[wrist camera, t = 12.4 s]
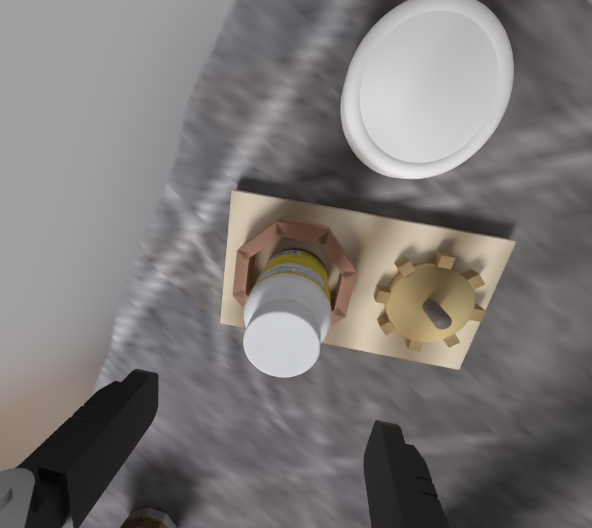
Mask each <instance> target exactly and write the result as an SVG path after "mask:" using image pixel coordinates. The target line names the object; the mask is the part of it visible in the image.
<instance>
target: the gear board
mask: <svg viewBox="0 0 592 528" xmlns="http://www.w3.org/2000/svg"><path fill="white" fill-rule="evenodd" d="M515 243H516V241H513V240H510V239H507V238H503V237H497V236H492V235H486V234H481V233H475V232H469V231H464V230H458V229H453V228H447V227H442V226H436V225H431V224H425V223H419V222H414V221H408V220H403V219H397V218H392V217H386V216H381V215H375V214H369V213H364V212H358V211H353V210H347V209H342V208H336V207H331V206H325V205H319V204H314V203H308V202H303V201H297V200H292V199H286V198H281V197H275V196H270V195H264V194H258V193H253V192H247V191H242V190H232V194H231V206H230V217H229V229H228V240H227V252H226V263H225V275H224V286H223V298H222V310H221V321H220V323H223V324H228V325H233V326H238V327H243V328H246V326H245V322H244V307H245V303H246V301H247V298H248V296H249V294H250V292H251V291H252V289H253V287H254V285H255V284H256V282H257V280H258V278H259V276H260V275H261V273H262V271H263V269H264V267H265V266H266V264H267V262H268V261H269V259H270V258H271V257H272V256H273V255H274V254H276V253H277V252H279V251H281V250H283V249H286V248H293V247H297V248H303V249H306V250H309V251H311V252H312V253H314V254H315V255H317V256H318V257H319V258H320V259H321V261H322V262H323V264H324V265H325V267H326V270H327V275H328V282H329V291H330V303H331V312H332V314H331V325H330V329H329V332H328V334H327V336H326V337H325V339H324V340H323V341H322V343H325V344H330V345H335V346H340V347H345V348H351V349H356V350H361V351H366V352H371V353H376V354H381V355H386V356H392V357H397V358H402V359H407V360H412V361H417V362H422V363H427V364H432V365H438V366H443V367H448V368H453V369H458V370H459V369H460V367H461V364H462V362H463V360H464V358H465V355H466V353H467V351H468V349H469V346H470V344H471V342H472V340H473V337H474V335H475V333H476V331H477V328H478V326H479V324H480V322H481V321H482V319H483V317H484V314H485V312H486V311H485V310H486V308H487V306H488V304H489V301H490V299H491V297H492V295H493V292H494V290H495V288H496V286H497V283H498V281H499V279H500V277H501V274H502V272H503V270H504V268H505V265H506V263H507V261H508V259H509V256H510V254H511V252H512V250H513V247H514V245H515Z"/></svg>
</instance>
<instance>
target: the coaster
mask: <svg viewBox="0 0 592 528" xmlns="http://www.w3.org/2000/svg"><path fill="white" fill-rule="evenodd" d="M513 78H514V62H513V53H512V49H511V45H510V41H509V39H508V36H507V34H506V31H505V29H504V28H503V26H502V24H501V23H500V21H499V20H498V19H497V17H496V16H495V15H494V13H493V12H492V11H490V10H489V9H488V8H487V7H486V6H485V5H484V4H482V3H480V2H479V1H477V0H407V1H405V2H403V3H402V4H400V5H398V6H397V7H395V8H393V9H392V10H391V11H390V12H388V13H387V14H386V15H385V16H383V17H382V18H381V19H380V20H379V21H378V22H377V23H376V24H375V25H374V26H373V27H372V28H371V29H370V31H369V32H368V33H367V34H366V36H365V37H364V38H363V40H362V41H361V43H360V45H359V46H358V48H357V49H356V52H355V54H354V56H353V58H352V60H351V63H350V65H349V68H348V71H347V74H346V79H345V83H344V86H343V91H342V96H341V106H340V108H341V121H342V127H343V131H344V134H345V137H346V139H347V142H348V144H349V146H350V147H351V149H352V151H353V152H354V153H355V155H356V156H357V157H358V158H359V159H360V160H361V161H362V162H363V163H364V164H365V165H366V166H368V167H369V168H370V169H372V170H374V171H375V172H377V173H380V174H382V175H385V176H389V177H393V178H404V179H422V178H427V177H432V176H436V175H439V174H442V173H444V172H446V171H449V170H451V169H453V168H455V167H456V166H458V165H460V164H461V163H463V162H464V161H465V160H467V159H468V158H469V157H471V156H472V155H473V154H474V153H475V152H476V151H477V150H479V149H480V148H481V147H482V146H483V145H484V143H485V142H486V141H487V140H488V139H489V138H490V136H491V135H492V133H493V132H494V130H495V129H496V127H497V126H498V124H499V122H500V120H501V118H502V117H503V115H504V112H505V110H506V107H507V105H508V102H509V99H510V95H511V91H512V85H513Z"/></svg>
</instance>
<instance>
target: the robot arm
mask: <svg viewBox="0 0 592 528" xmlns="http://www.w3.org/2000/svg"><path fill="white" fill-rule="evenodd" d="M157 409H158V374H157V373H154V372H149V371H144V370H140V369H135V370H133V371H132V372H131V373H130V374H129V375H128V376H127V377H126V378H125V379H124V380H123V381H122V382H118V381H114V382H112V383H111V384H109V385H107V386H105V387H104V388H102V389H100V390H98V391H97V392H96V393H95V394H94V395H93V396H92V397H91V398H90V399H89V400H88V401H87V402H86V403H85V404H84V406H81V407H80V408H79V409H78V410H77V411H76V412H75V413H74V414H73V416H72V417H70V418H69V419H68V420H67V421H66V422H64V424H62V425H61V426H60V427H59V428H58V429H57V430H56V431H55V432H54V433H53V434H52V435H51V436H50V437H49V438H48V439H46V440H45V441H44V442H43V443H42V444H41V445H40V446H39V447H38V448H37V449H36V450H35V451H34V452H33V453H32V454H31V455H30V456H29V457H28V458H26V459H25V460H24V461H23V462H22V463H21V464H20V465H19V466H17V467H16V468H14V469H8V470H4V471H1V472H0V528H79V526H80V525H81V524H82V522H83V521H84V519H85V518H86V516H87V515H88V514H89V512H90V511H91V509H92V508H93V506H94V505H95V504H96V502H97V501H98V499H99V498H100V496H101V495H102V494H103V492H104V491H105V489H106V488H107V486H108V485H109V484H110V482H111V481H112V479H113V478H114V476H115V475H116V473H117V472H118V471H119V469H120V468H121V466H122V465H123V463H124V462H125V461H126V459H127V458H128V456H129V455H130V453H131V452H132V451H133V449H134V448H135V446H136V445H137V443H138V442H139V441H140V439H141V438H142V436H143V435H144V433H145V432H146V431H147V429H148V428H149V426H150V425H151V423H152V421H153V420H154V417H155V415H156V412H157ZM364 475H365V483H366V490H367V497H368V504H369V512H370V519H371V526H372V528H449V526H448V523H447V520H446V517H445V515H444V512H443V509H442V506H441V504H440V501H439V500H438V498H437V496H438V495H437V492H436V490H435V487H434V484H432V479H431V476H430V473H429V470H428V467H427V465H426V462H425V461H424V459H423V458H422V456H421V455H420V453H419V452H418V451H417V449H416V448H415V446H414V445H409V444H405V441H404V437H403V434H402V431H401V428H400V426H399V425H397V424H392V423H387V422H383V421H378V420H377V421H375V423H374V426H373V429H372V432H371V435H370V438H369V441H368V444H367V447H366V450H365V454H364Z"/></svg>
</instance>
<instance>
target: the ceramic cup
mask: <svg viewBox="0 0 592 528" xmlns="http://www.w3.org/2000/svg"><path fill="white" fill-rule="evenodd" d="M120 528H176V525H175V524H174V523H173V521H172V520H171V519H170V517H169V516H168V515H167V514H166V513H164V512H162V511H159V510H156V509H154V508H151V507H147V508H142V509H137V510H134V511H133V512H132V513H131V514H130V515H129V516H128V518H127V519H126V520H125V522H124V523H123V525H122V526H121V527H120Z"/></svg>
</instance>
